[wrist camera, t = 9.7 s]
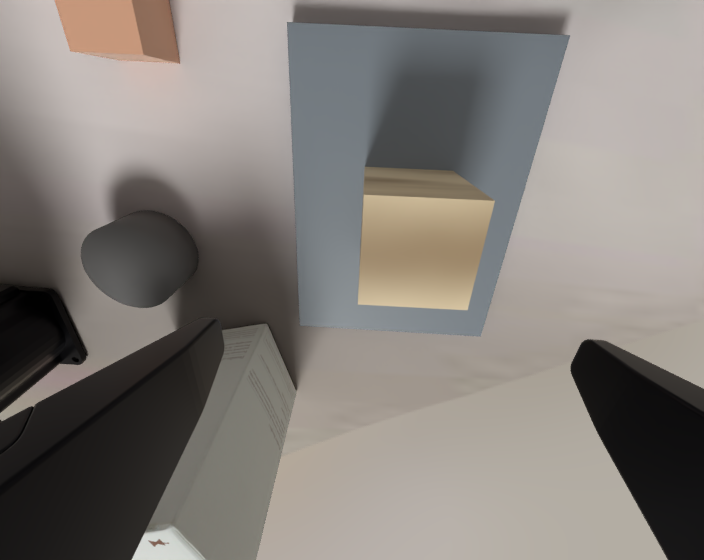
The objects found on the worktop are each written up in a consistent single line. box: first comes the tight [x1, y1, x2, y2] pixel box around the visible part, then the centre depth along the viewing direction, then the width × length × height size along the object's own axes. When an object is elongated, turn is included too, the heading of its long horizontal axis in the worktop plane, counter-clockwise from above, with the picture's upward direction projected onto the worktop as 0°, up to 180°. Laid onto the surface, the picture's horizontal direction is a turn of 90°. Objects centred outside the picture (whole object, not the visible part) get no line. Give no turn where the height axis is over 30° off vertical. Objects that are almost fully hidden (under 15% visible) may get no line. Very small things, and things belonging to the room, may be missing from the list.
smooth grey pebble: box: [81, 211, 198, 308], centre depth 19 cm, size 5×5×3 cm
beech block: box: [358, 167, 495, 310], centre depth 15 cm, size 4×4×6 cm
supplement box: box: [132, 324, 296, 560], centre depth 19 cm, size 7×7×13 cm
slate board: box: [287, 22, 570, 336], centre depth 18 cm, size 16×12×1 cm
